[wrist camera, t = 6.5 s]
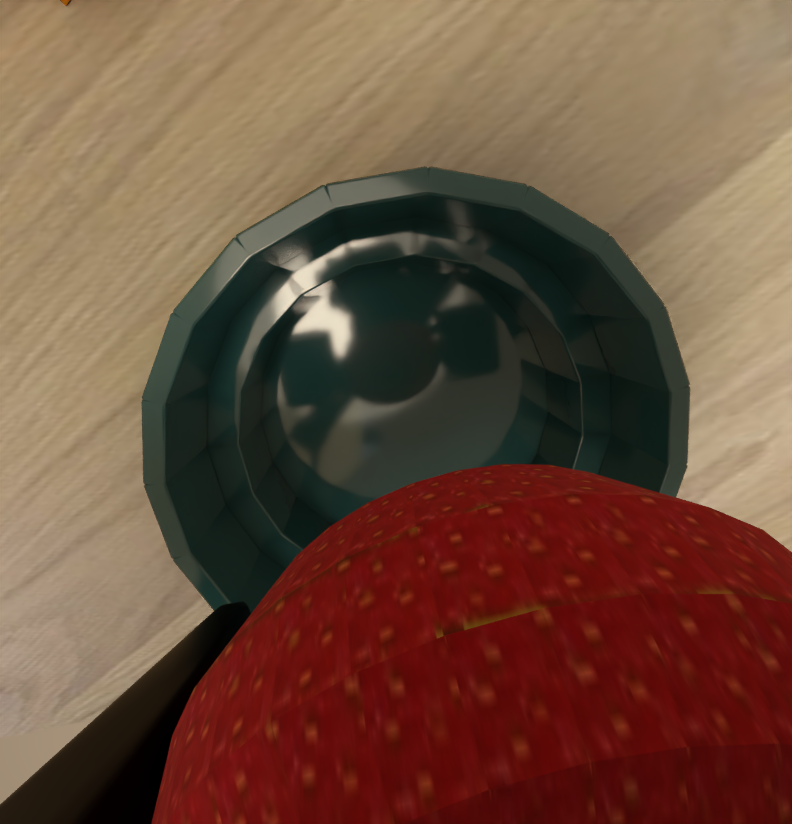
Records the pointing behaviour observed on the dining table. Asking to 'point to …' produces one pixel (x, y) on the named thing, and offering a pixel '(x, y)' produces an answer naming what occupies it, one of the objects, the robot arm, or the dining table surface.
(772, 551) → the strawberry
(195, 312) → the teal pet bowl
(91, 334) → the dining table surface
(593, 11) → the dining table surface
